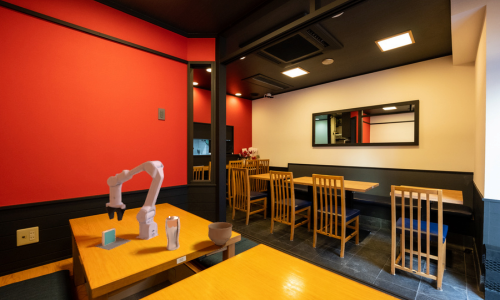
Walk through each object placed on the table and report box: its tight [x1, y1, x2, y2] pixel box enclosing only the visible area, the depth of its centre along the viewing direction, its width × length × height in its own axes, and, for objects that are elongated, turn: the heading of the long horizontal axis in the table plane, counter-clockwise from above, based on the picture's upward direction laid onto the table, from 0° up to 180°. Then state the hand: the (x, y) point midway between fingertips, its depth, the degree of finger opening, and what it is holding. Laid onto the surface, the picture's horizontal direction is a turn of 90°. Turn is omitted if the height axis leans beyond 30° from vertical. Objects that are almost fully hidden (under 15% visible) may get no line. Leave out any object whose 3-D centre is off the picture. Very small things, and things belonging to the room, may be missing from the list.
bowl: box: [207, 221, 233, 246], centre depth 110 cm, size 13×13×10 cm
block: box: [101, 227, 116, 246], centre depth 112 cm, size 2×6×7 cm, turn 156°
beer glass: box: [164, 215, 181, 251], centre depth 107 cm, size 7×7×15 cm
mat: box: [94, 236, 132, 251], centre depth 112 cm, size 12×12×1 cm
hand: (115, 219), depth 123 cm, fingers open, 7 cm apart
